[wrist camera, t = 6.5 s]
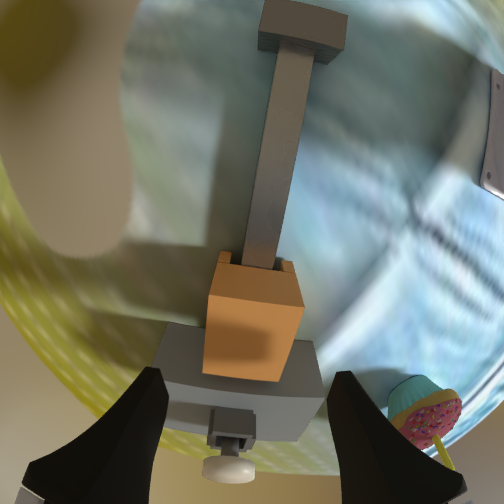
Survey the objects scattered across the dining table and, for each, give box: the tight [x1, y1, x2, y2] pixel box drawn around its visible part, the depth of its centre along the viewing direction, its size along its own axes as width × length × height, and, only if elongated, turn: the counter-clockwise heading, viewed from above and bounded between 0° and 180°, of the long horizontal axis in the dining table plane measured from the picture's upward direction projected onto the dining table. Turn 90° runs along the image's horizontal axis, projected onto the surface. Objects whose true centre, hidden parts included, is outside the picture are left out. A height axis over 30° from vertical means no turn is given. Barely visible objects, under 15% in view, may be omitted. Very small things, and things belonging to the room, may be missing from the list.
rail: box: [241, 0, 348, 270], centre depth 13 cm, size 20×4×3 cm, turn 170°
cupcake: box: [387, 375, 462, 471], centre depth 16 cm, size 9×8×12 cm
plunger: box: [202, 436, 255, 483], centre depth 12 cm, size 3×3×3 cm
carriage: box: [202, 251, 305, 382], centre depth 14 cm, size 5×4×4 cm
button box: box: [151, 322, 326, 452], centre depth 16 cm, size 6×10×7 cm, turn 80°
